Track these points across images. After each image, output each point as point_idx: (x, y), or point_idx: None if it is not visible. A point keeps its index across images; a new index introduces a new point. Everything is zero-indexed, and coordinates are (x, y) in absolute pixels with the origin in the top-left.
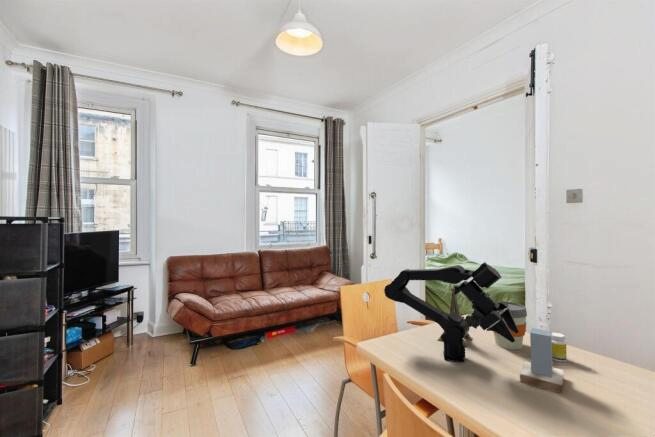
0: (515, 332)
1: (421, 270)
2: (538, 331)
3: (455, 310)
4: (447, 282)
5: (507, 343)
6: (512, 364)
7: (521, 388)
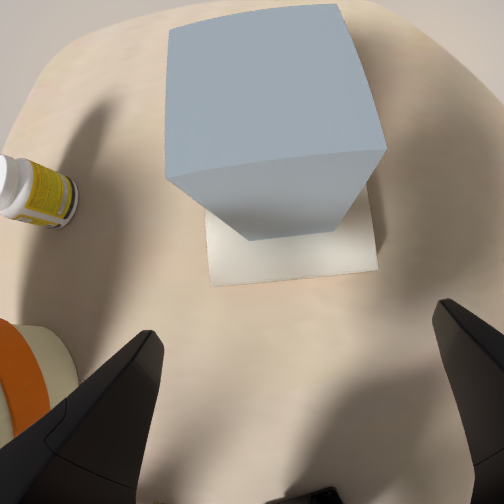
0: (161, 355)
1: None
2: (262, 89)
3: None
4: None
5: (64, 377)
6: (211, 337)
7: (418, 254)
